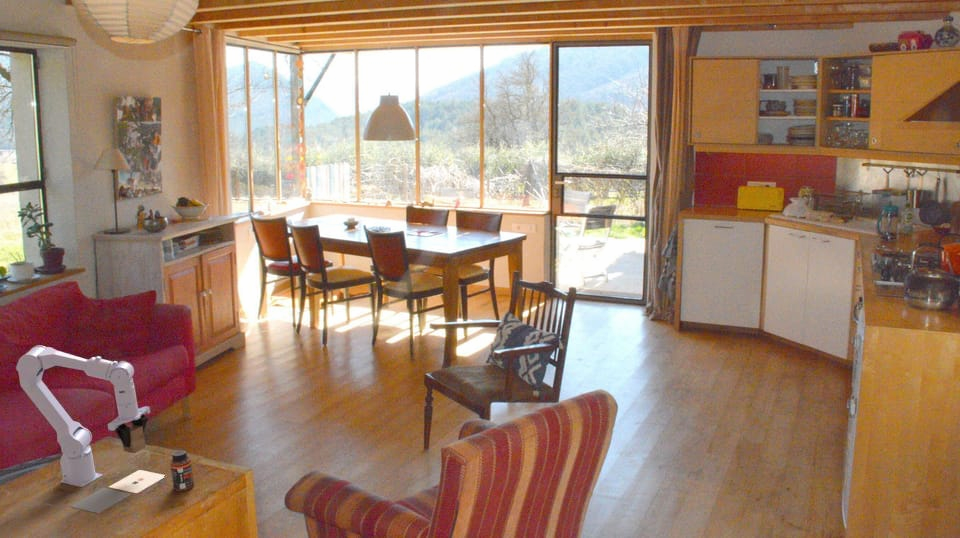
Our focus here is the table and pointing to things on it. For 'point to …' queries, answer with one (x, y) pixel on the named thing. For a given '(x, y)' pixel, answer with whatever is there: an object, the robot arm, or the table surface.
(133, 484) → the cream mat
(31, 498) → the table surface
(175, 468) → the supplement bottle
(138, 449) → the walnut block
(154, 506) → the table surface
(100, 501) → the grey mat
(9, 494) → the table surface
